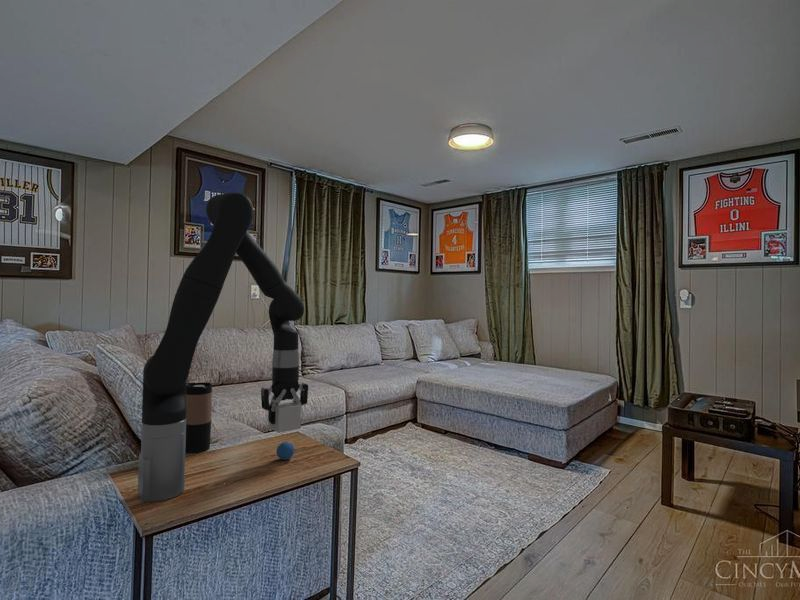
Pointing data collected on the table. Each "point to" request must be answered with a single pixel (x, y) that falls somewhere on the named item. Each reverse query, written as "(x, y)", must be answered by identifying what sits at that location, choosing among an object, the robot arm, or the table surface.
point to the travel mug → (198, 417)
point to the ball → (285, 451)
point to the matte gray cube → (287, 417)
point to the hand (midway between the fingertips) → (284, 421)
